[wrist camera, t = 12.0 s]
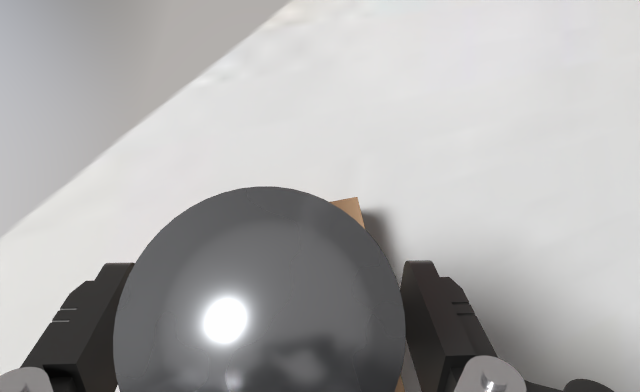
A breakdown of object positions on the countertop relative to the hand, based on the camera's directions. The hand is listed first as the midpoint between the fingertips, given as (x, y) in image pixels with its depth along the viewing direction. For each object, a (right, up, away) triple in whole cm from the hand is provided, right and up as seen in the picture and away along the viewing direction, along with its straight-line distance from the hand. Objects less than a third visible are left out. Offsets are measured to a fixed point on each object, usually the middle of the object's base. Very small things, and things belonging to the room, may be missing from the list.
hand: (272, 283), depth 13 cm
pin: (0, -3, +7) cm, 8 cm away
